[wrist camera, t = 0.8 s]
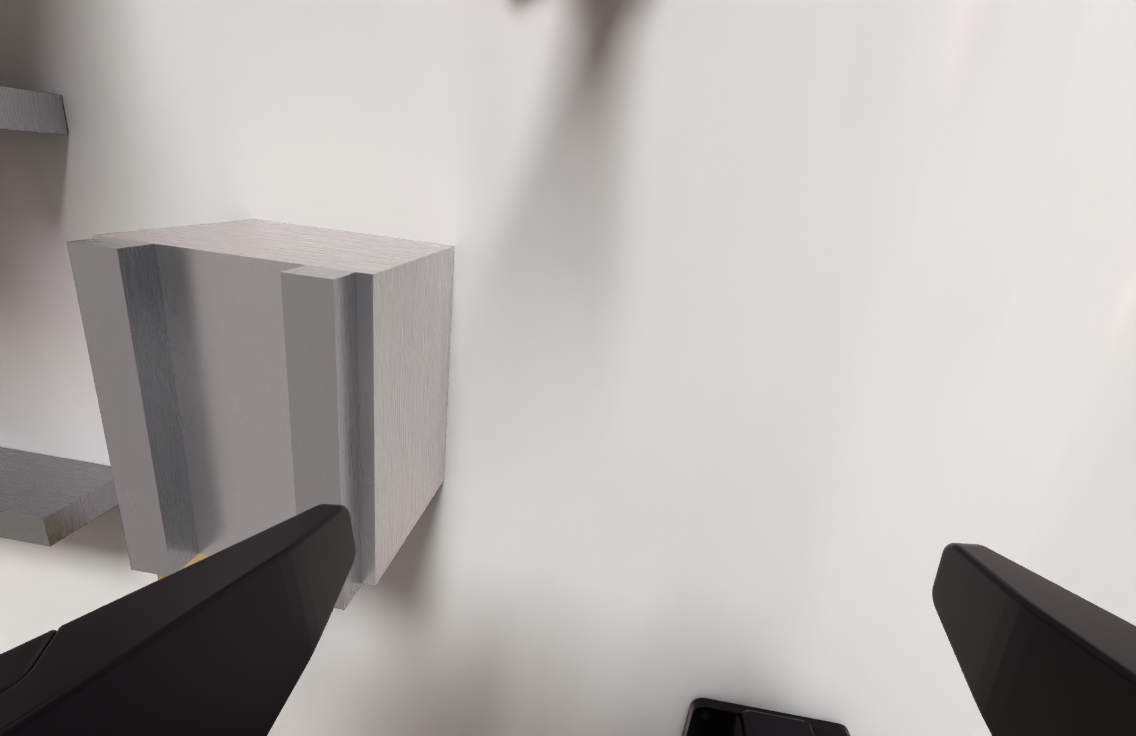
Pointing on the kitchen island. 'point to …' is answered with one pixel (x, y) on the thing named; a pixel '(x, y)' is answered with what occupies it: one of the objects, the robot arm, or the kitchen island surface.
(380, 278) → the block
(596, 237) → the kitchen island surface
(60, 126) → the dock
